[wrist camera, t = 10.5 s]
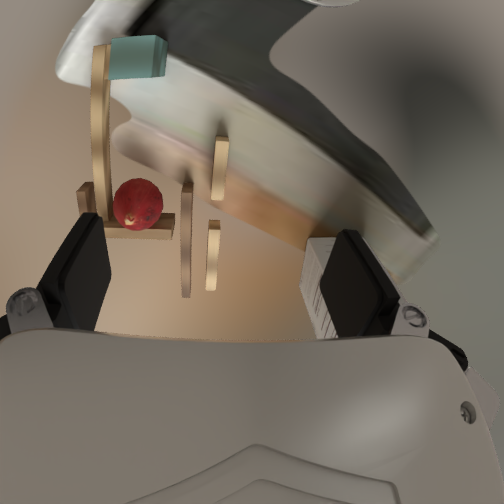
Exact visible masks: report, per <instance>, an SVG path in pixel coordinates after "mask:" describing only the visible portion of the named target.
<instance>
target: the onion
mask: <svg viewBox="0 0 504 504" xmlns="http://www.w3.org/2000/svg"><path fill="white" fill-rule="evenodd" d="M162 209H163V199H162V194H161V192H160V191H159V189H158V188H157V187H156V186H155V185H154V184H153V183H152V182H150V181H148V180H145V179H142V178H137V179H131V180H129V181H127V182H125V183H123V184H122V185H121V186H120V188H119V189H118V190H117V191H116V193H115V197H114V201H113V211H114V215H115V217H116V219H117V220H118V222H119V223H120V224H121V225H122V226H123V227H124V228H126V229H129V230H132V231H141V230H144V229H147V228H149V227H151V226H152V225H153V224H154V223H155V222H156V221H157V220H158V219H159V217H160V215H161V212H162Z"/></svg>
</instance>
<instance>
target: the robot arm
mask: <svg viewBox="0 0 504 504" xmlns="http://www.w3.org/2000/svg"><path fill="white" fill-rule="evenodd" d="M302 1H305V2H307V3H310V4H314V5H317V6H323V7H342V6H347V5H350V4H353V3H355V2H357V1H360V0H318V1H317V0H302ZM110 280H111V267H110V262H109V256H108V251H107V245H106V239H105V231H104V224H103V218H102V217H101V216H99V215H98V213H94V212H83V213H82V215H81V216H80V218H79V219H78V221H77V222H76V223H75V225H74V226H73V228H72V229H71V231H70V232H69V234H68V235H67V237H66V238H65V240H64V242H63V243H62V245H61V246H60V248H59V250H58V251H57V253H56V254H55V256H54V258H53V259H52V261H51V263H50V264H49V266H48V268H47V270H46V271H45V273H44V275H43V277H42V279H41V280H40V282H39V284H38V286H37V287H36V289H35V288H31V287H27V288H22V289H19V290H18V291H16V292H15V293H14V294H13V295H12V296H10V298H9V300H8V301H7V304H6V313H7V314H6V315H4V316H2V317H1V318H0V504H504V482H503V478H502V473H501V469H500V465H499V461H498V458H497V454H496V451H495V447H494V444H493V441H492V437H491V435H490V432H489V431H490V428H491V426H492V424H493V422H494V419H495V417H496V414H497V412H498V409H499V407H500V398H499V396H498V394H497V392H496V391H495V390H494V389H493V388H492V387H491V386H490V385H489V384H488V383H487V382H486V381H485V380H484V378H482V376H481V375H479V373H478V372H476V371H475V370H474V368H473V367H470V368H468V361H467V357H466V355H465V353H464V351H463V350H462V349H461V348H459V347H458V346H456V345H454V344H453V343H451V342H449V341H448V340H446V339H445V338H443V337H441V336H440V335H438V334H436V333H435V332H433V331H431V330H430V329H429V327H430V320H429V318H428V316H427V314H426V313H425V311H423V310H422V309H421V308H420V307H418V306H417V305H415V304H412V303H403V304H401V305H400V304H399V302H398V301H399V299H400V298H401V297H400V295H399V294H398V292H397V290H396V289H395V287H394V286H393V284H392V282H391V281H390V279H389V278H388V276H387V274H386V273H385V271H384V270H383V268H382V267H381V265H380V264H379V262H378V260H377V259H376V257H375V256H374V254H373V253H372V251H371V250H370V248H369V247H368V245H367V244H366V243H365V241H364V240H363V238H362V237H361V235H360V234H359V232H358V231H356V230H348V229H344V230H342V232H339V233H338V235H337V237H336V240H335V243H334V245H333V248H332V251H331V254H330V256H329V259H328V262H327V264H326V267H325V270H324V272H323V275H322V277H321V280H320V284H319V287H320V291H321V294H322V296H323V299H324V301H325V304H326V306H327V309H328V312H329V314H330V317H331V320H332V322H333V325H334V328H335V330H336V333H337V336H338V338H327V339H304V340H303V339H302V340H209V339H184V338H167V337H151V336H139V335H128V334H117V333H107V332H97V331H94V329H95V325H96V322H97V319H98V316H99V312H100V309H101V306H102V303H103V300H104V297H105V294H106V291H107V288H108V286H109V283H110Z"/></svg>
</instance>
